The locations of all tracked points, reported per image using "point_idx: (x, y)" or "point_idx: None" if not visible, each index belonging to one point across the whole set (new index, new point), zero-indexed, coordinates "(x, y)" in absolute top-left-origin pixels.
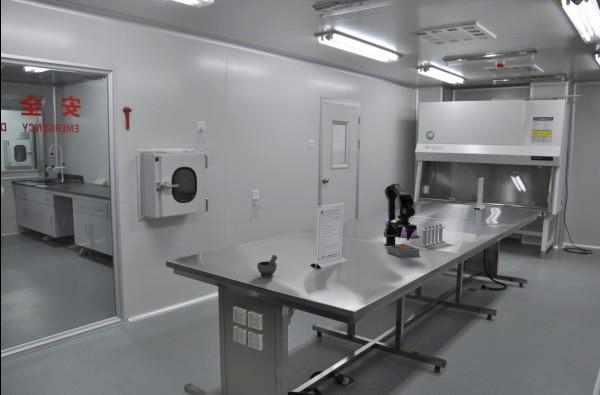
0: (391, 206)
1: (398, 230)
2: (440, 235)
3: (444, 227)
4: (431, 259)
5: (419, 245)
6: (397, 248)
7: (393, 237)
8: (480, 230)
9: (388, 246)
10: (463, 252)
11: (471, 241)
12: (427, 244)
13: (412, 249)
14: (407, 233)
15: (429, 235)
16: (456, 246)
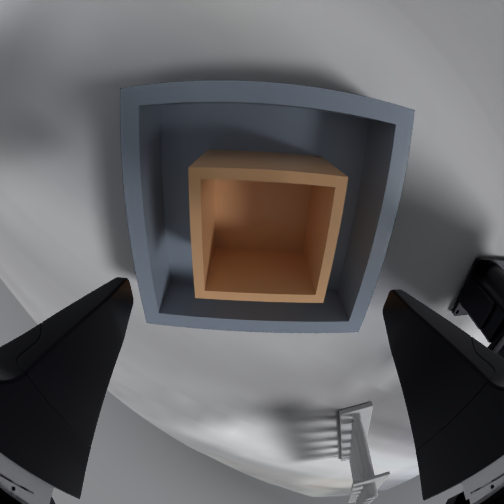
0: None
1: (461, 391)
2: (352, 473)
3: (348, 501)
4: (55, 281)
5: (371, 403)
6: (294, 162)
7: (497, 329)
8: None
9: (395, 106)
10: (178, 440)
11: (299, 481)
12: (351, 426)
13: (140, 260)
14: (6, 349)
15: (358, 464)
16: (271, 460)
